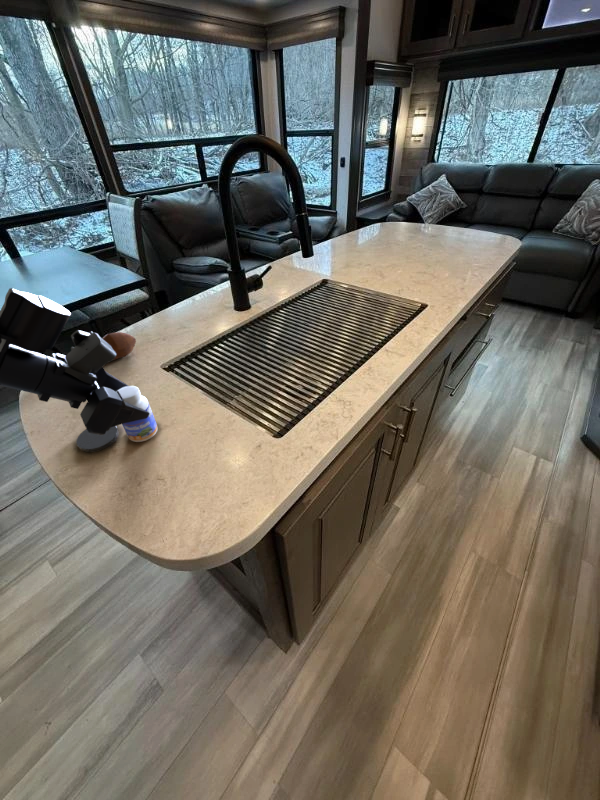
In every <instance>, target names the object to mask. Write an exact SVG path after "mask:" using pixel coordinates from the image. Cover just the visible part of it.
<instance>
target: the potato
mask: <svg viewBox="0 0 600 800" xmlns="http://www.w3.org/2000/svg"><path fill="white" fill-rule="evenodd" d="M101 338H102V339H103V340H105V341H106V342H107V343H108V344H109V345H110V346H111V347H112V348H113V350H114V351H115V352H116V357H115V358H114V359H113V360H112V361H115V360H119V359H122V358H125V357H127V356H129V354H130V353H132V351H133V350H134V348H135V346H136V342H137V340H136V339H137V338H136V337H134V336H133V335H132V334H129V333H127V332H124V331H123V332H122V331H117V332H116V331H115V332H110V333H107V334H105V335H104V336H103V337H101Z"/></svg>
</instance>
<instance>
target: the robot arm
mask: <svg viewBox="0 0 600 800" xmlns="http://www.w3.org/2000/svg"><path fill="white" fill-rule="evenodd" d="M4 298H5V299H4V302H3V304H2V305H1V308H0V386H1V387H6V388H9V389H14V390H18V391H23V392H26V393H31V394H35V395H37V397H38V400H39V401H41V402H45V403H48V402H49V400H50V399H56V400H59V401H62V402H63V401H64V402H68V404H69V406H70V408H72V409H76V410H79V408H80V406H81V404H82V403H86V404H85V405H84V407H83V409H82V410H81V412H80V414H79V415H80V417H81V420H82V422H83V425H84V427H85V430H86V429H87V430H88V432H89V433H93V434H98V435H104V434H105V433H106V431H108V430H109V429H110V428H111V427H114V426H116V427H117V426H120V425H122V424H124V423H128V422H133V421H137V420H142V419H146V418H148V416H149V414H150V413H149V412H147V411H145V410H143V409H141V408H139V407H136V406H134V405H132V404H129V403H127V402H124V399H123V398H122V396H121V394H120V393H119V391H118V390H119V389H121V388H123V387H126V386H130V385H128V384H127V383H126V382H123V380H121V379H118V378H117V377H116V376H114V375H112V374H111V373H109V372H108V371H107V370H105V367H104V366H106V365H107V364H108V363H110V362H113V361H114V360H113V359H114V358H115V357H116V352H115V351H114V350H113V348H112V347H111V346H110V345H109V344H108V343H107V342H106V341H105V340H103V339H102V338H103V337H101V336H100V335H99V333H97V332H93V331H92V330H91V331H89V332H87V331H83V330H79V329H76V330H75V331H74V332H73V333H72V334H71V335H70V338H71V340H72V342H73V344H74V346H73V345H72V346H71V347H70V351H69V352H68V353H67V354H66V355H65V354H63V353H62V354H61V353H59V352H56V353H53V352H52V353H51V355H50V356H49V355H45V354H42V353H46V351H47V350H52V349H53V348H54V346H55V345H56V343H57V341H58V340H59V338H60V335H61V334H62V331H63V330H64V328H65V327H66V324H67V322H68V321H69V319H70V317H71V315H72V313H71V312H70V310H69V309H67V308H65V307H64V306H62V305H61V304H60V303H57V302H55V301H53V300H51V299H49V298H47V297H45V296H43V295H41V294H39V295H37V294H33V293H30V292H26V291H20V290H18V289H15V288H13V287H10V288H8V291H7V292H6V294H5V297H4ZM116 391H117V392H116Z"/></svg>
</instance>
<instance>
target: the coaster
mask: <svg viewBox="0 0 600 800" xmlns="http://www.w3.org/2000/svg"><path fill="white" fill-rule="evenodd" d="M119 435H120V431H119V429H118V427H117V426H114V427H111V428H110V429H109V430H108V431H106V433H105V434H104V435H98V434H93V433H89V432H88V430H87V429H86V428H85V430H83V431H82V432H81V433H80V434H79V435H78V436H77V438H76V442H75V443H76V446H77V447H78V449H79V450H80V451H82V452H84V453H96V452H99V451H102V450H104V449H106V448H108V447H110V446H111V445H113V444H114V443H115V442H116V441H117V439H118V438H119Z"/></svg>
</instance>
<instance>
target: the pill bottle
mask: <svg viewBox="0 0 600 800" xmlns="http://www.w3.org/2000/svg"><path fill="white" fill-rule="evenodd" d="M118 391H119V393H120V394H121V396H122V398H123V399H124V402H127V403H129V404H132V405H134V406H136V407H139V408H141V409H143V410H145V411H147V412H149V413H150V414H149V416H148V418H146V419H142V420H137V421H133V422H128V423H124V424H121V425H122V428H123V429H124V432H125V433H126V436H127V438H128V439H129V440H130V441H131V442H136V443H140V442H145V441H148V440H151V439H152V438H153V437H154V436H155V435H156V434H157V432H158V424H157V421H156V419H155V416H154V413H153V411H152V408H151V405H150V403H149V400H148V398H147V397H146V396H144V395H142V393H141V390H140V388H139V387H138V386H135V385H129V386H126V387H123V388H121V389H119V390H118ZM116 392H117V391H116Z"/></svg>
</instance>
